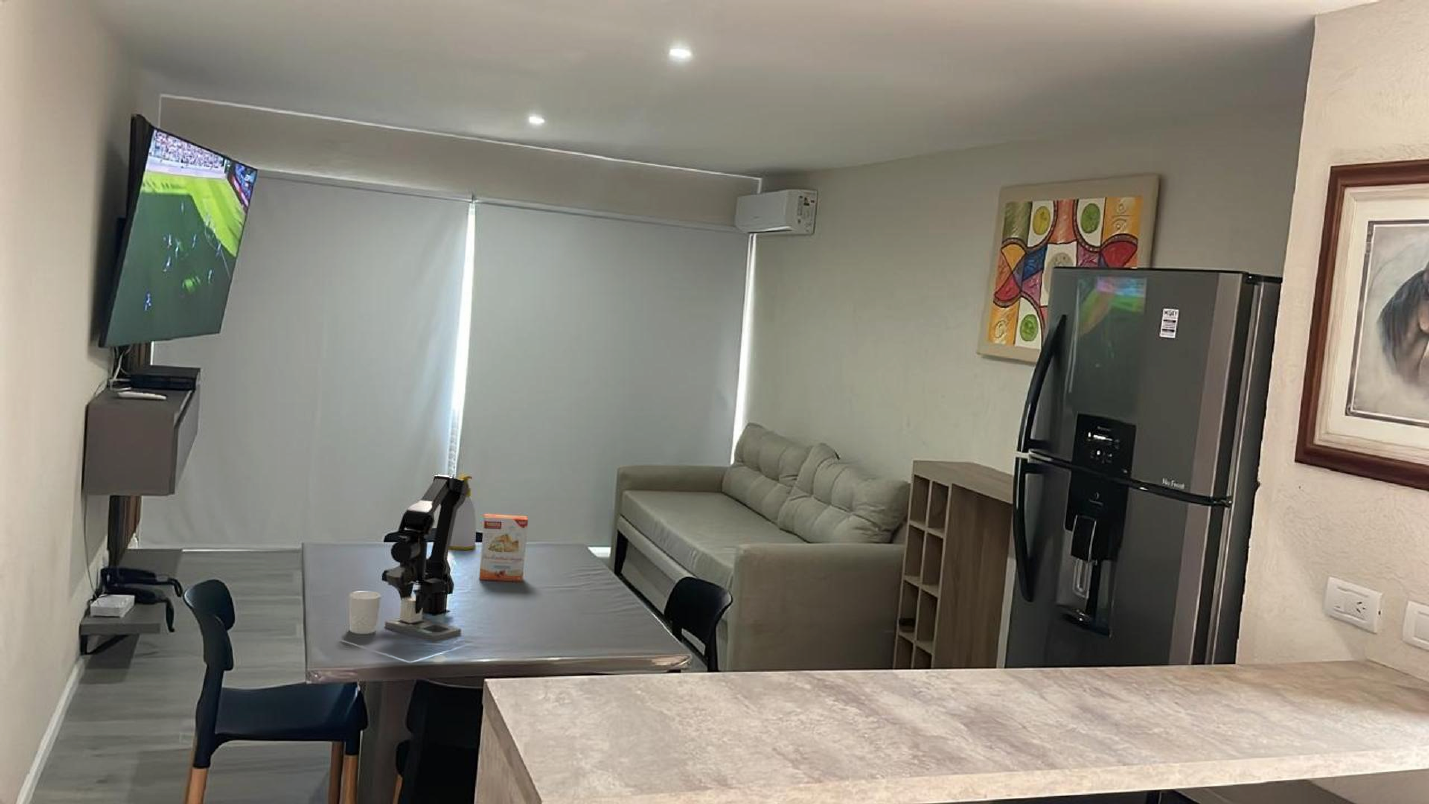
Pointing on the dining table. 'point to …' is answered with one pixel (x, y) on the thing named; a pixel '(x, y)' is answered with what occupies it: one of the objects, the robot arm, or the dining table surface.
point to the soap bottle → (464, 524)
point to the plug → (409, 610)
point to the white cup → (364, 611)
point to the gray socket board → (424, 629)
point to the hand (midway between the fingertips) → (411, 611)
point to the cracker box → (503, 547)
